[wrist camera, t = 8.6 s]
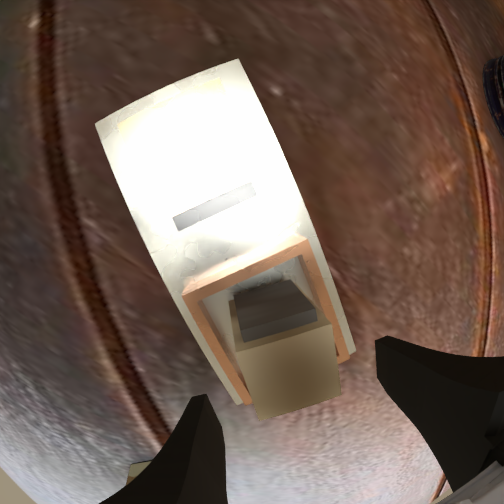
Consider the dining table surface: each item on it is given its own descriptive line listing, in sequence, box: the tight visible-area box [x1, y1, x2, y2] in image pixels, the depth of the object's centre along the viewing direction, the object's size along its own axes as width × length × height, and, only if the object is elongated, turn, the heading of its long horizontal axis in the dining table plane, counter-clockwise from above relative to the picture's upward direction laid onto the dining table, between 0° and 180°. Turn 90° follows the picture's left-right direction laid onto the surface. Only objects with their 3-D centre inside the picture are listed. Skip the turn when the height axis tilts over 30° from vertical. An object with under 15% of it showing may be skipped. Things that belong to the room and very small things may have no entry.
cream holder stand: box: [95, 59, 356, 406], centre depth 14 cm, size 9×20×7 cm, turn 24°
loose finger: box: [228, 279, 342, 421], centre depth 15 cm, size 4×5×6 cm
